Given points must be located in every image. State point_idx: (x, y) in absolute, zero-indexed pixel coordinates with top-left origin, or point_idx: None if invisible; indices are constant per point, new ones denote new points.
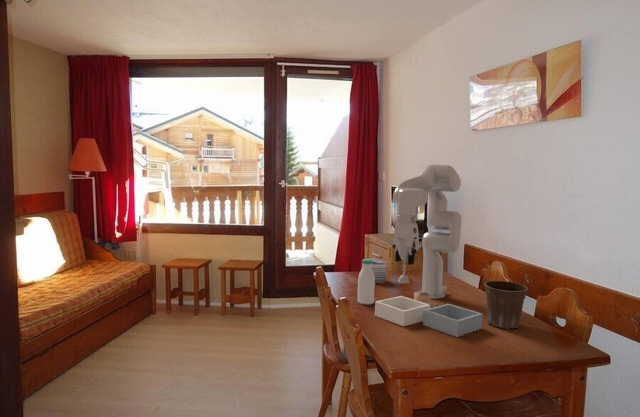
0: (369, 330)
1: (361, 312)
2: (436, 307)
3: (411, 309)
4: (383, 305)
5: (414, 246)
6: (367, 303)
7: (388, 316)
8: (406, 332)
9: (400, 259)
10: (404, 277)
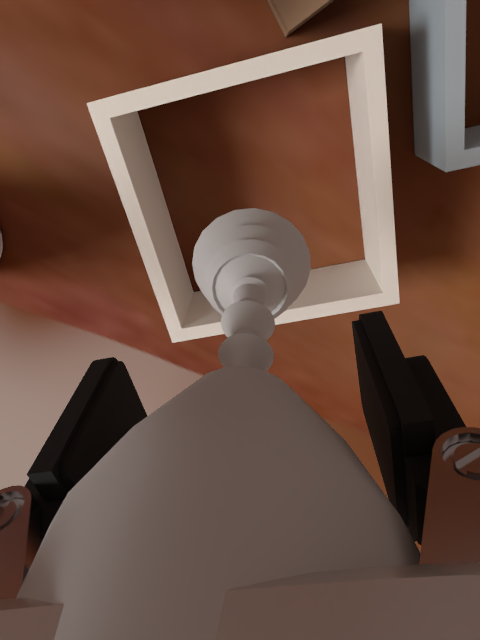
0: (345, 412)
1: (125, 334)
2: (458, 19)
3: (392, 240)
4: None
5: (451, 588)
6: (1, 249)
7: None
8: (447, 301)
9: (125, 393)
10: (283, 304)
